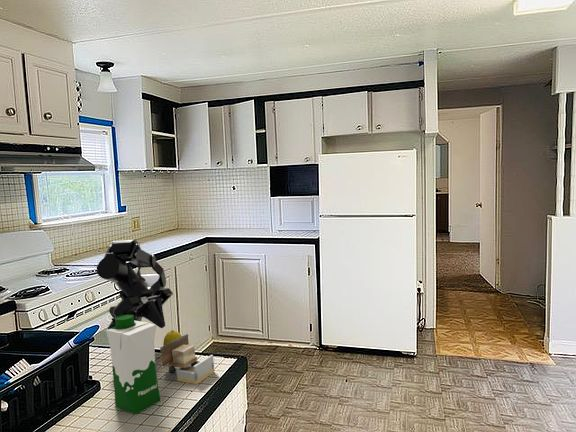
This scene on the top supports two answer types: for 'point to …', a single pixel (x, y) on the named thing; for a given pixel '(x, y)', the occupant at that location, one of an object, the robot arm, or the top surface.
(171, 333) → the lemon
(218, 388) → the top surface
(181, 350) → the trolley
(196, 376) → the dock
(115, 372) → the milk carton
